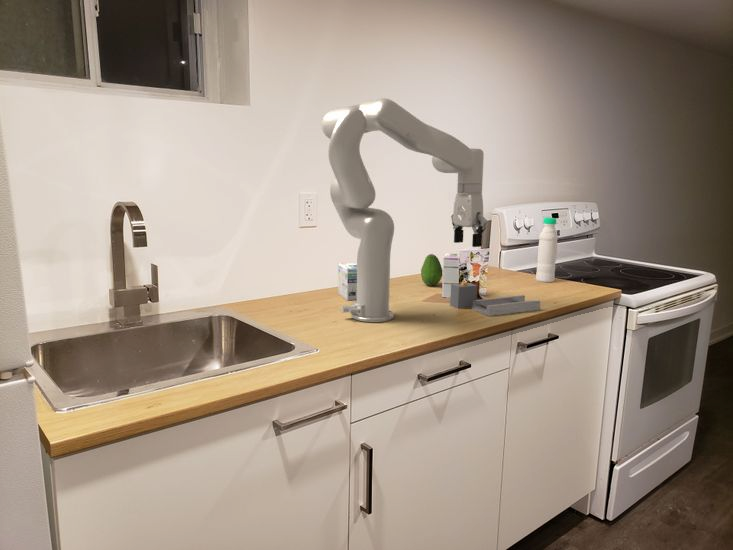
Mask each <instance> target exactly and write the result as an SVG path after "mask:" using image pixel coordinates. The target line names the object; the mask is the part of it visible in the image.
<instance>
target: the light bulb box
mask: <svg viewBox="0 0 733 550" xmlns="http://www.w3.org/2000/svg"><path fill="white" fill-rule="evenodd" d="M337 266H338V269H337V270H338V273H337V274H338V276H337V277H338V285H337V287H338V289H337V294H338V293H339V296H341V297H343V299H345V300H346V301H357V262H352V263H351V262H349V263H347V262H346V263H345V262H342V263H341V262H340V263H338V265H337Z"/></svg>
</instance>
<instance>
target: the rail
mask: <svg viewBox="0 0 733 550" xmlns="http://www.w3.org/2000/svg"><path fill="white" fill-rule="evenodd" d="M471 310H472V311H475V312H477V311H478V313H480V314H482V313H483V314H482V315H484V316H487V315H488V316H487V317H495V316H494V315H497V316H503V315H502V314H505V315H510V314H511V313H513V314H519V313H518V312H521V313H526V312H525V311H529V312H534V311H533V310H537V311H541V310H542V306H541V300H539V299H535V300H534V299H533V300H526V296H525V295H524V294H522V295H521V294H519V295H511V296H501V297H500V296H499V297H493V298H484V299H483V298H482V299H477V300H473V306H472V307H471ZM511 315H512V314H511Z"/></svg>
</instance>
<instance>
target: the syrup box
mask: <svg viewBox="0 0 733 550" xmlns="http://www.w3.org/2000/svg"><path fill="white" fill-rule="evenodd" d="M460 255H461V254H459V253H444V255H443V256H442V278H441V280H442V283H441V284H442V285H441V287H442V288H441V297H442V298H444V297H446V299H450V297H451V284H458V283H459V263H460V264H461V262H460Z"/></svg>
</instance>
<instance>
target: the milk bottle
mask: <svg viewBox="0 0 733 550" xmlns="http://www.w3.org/2000/svg"><path fill="white" fill-rule="evenodd" d="M542 221H543V228H542V230H541V232H539V235H538V239H539V240H538V245H537V246H538V248H537V263H536V274H535V280H536V281H537V282H540V283H553V282H554V281H555V272H556V260H557V252H558V239H559V235H558V232H557V230H556V228H555V226H556V224H557V218H555V217H544V218H543V220H542Z"/></svg>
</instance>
